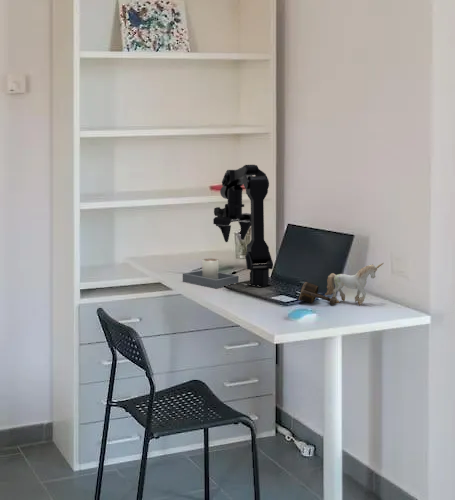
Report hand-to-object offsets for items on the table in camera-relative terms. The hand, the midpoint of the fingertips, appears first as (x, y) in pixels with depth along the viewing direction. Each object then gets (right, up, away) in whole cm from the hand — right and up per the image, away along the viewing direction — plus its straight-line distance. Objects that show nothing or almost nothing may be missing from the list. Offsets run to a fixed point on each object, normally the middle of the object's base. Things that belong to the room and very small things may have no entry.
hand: (234, 240), depth 351 cm
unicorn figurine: (+40, -21, -51) cm, 68 cm away
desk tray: (-9, -16, -22) cm, 28 cm away
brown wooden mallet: (+27, -22, -54) cm, 64 cm away
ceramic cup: (-9, -15, -22) cm, 28 cm away
